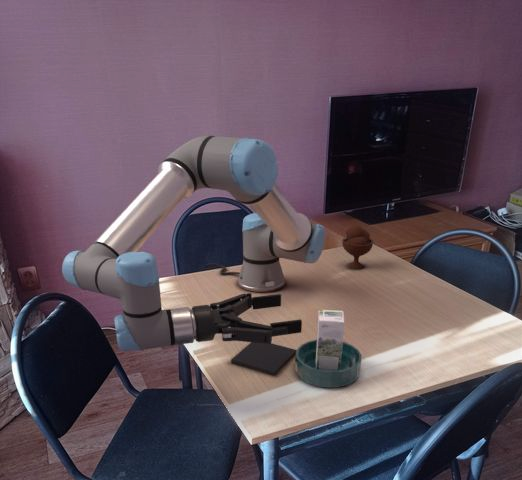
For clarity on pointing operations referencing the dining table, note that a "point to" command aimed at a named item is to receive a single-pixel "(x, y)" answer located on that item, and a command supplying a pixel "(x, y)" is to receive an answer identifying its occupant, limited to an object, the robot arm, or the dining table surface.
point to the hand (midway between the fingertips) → (290, 312)
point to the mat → (264, 357)
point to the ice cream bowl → (357, 244)
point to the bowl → (324, 378)
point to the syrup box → (329, 340)
